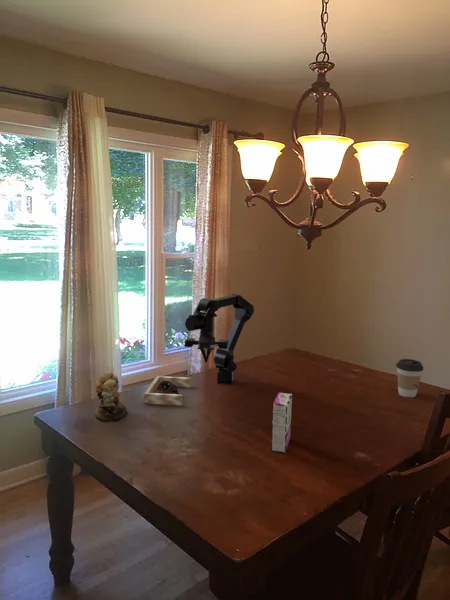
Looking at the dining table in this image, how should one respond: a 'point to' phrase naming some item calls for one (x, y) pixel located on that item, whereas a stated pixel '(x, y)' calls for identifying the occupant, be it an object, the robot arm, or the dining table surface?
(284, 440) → the candy bar box
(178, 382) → the birch bracket
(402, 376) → the coffee cup
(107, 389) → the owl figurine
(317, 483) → the dining table surface
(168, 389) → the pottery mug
